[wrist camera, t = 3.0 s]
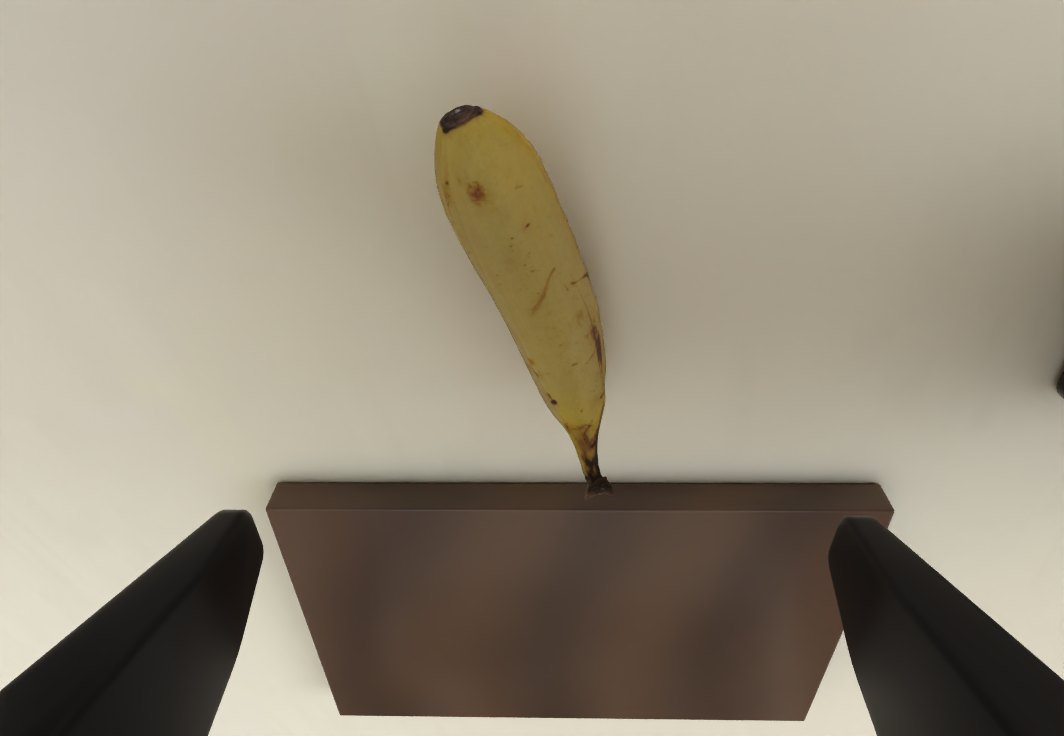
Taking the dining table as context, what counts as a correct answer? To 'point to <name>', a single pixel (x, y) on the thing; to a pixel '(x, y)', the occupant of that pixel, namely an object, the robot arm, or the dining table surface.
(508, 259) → the banana
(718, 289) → the dining table surface
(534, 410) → the dining table surface
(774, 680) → the walnut board
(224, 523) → the robot arm
